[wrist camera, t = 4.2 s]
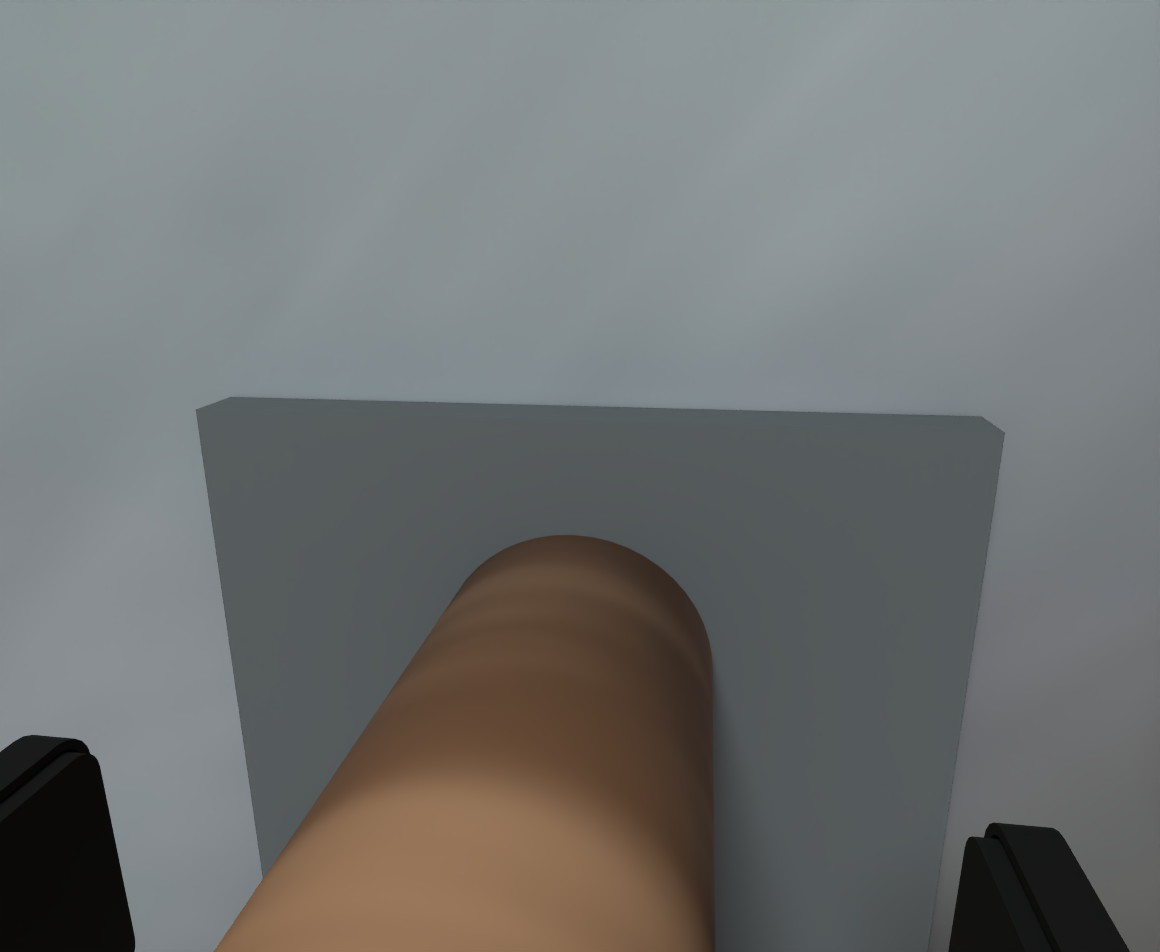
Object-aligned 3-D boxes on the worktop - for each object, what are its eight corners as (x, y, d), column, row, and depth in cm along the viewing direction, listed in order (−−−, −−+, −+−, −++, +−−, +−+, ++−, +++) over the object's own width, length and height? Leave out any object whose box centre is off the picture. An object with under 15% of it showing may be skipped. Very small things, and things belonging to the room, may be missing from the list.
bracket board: (230, 397, 14) (53, 461, 10) (981, 416, 12) (1104, 502, 8) (325, 1127, 19) (230, 1354, 15) (870, 1213, 17) (916, 1492, 13)
